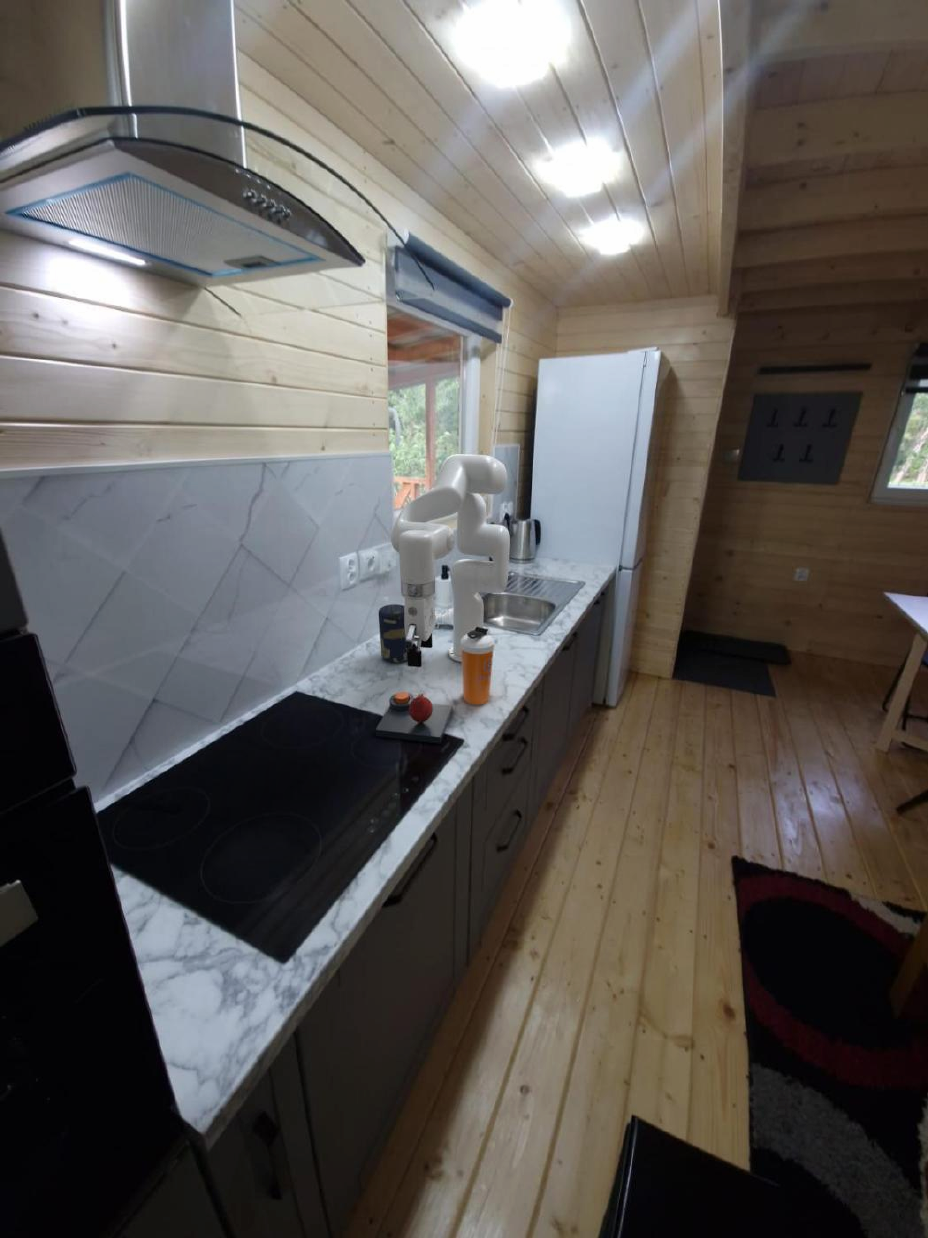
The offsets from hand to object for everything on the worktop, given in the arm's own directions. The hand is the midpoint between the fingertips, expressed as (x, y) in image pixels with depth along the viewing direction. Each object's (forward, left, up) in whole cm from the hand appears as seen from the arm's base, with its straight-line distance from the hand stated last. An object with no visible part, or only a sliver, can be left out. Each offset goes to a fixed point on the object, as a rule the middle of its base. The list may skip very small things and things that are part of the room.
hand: (420, 656), depth 116 cm
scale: (-1, -2, -20) cm, 20 cm away
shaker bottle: (-16, +11, -20) cm, 28 cm away
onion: (+1, 0, -18) cm, 18 cm away
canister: (-35, -18, -20) cm, 44 cm away
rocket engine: (-65, -5, -20) cm, 69 cm away
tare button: (-6, -7, -17) cm, 19 cm away
